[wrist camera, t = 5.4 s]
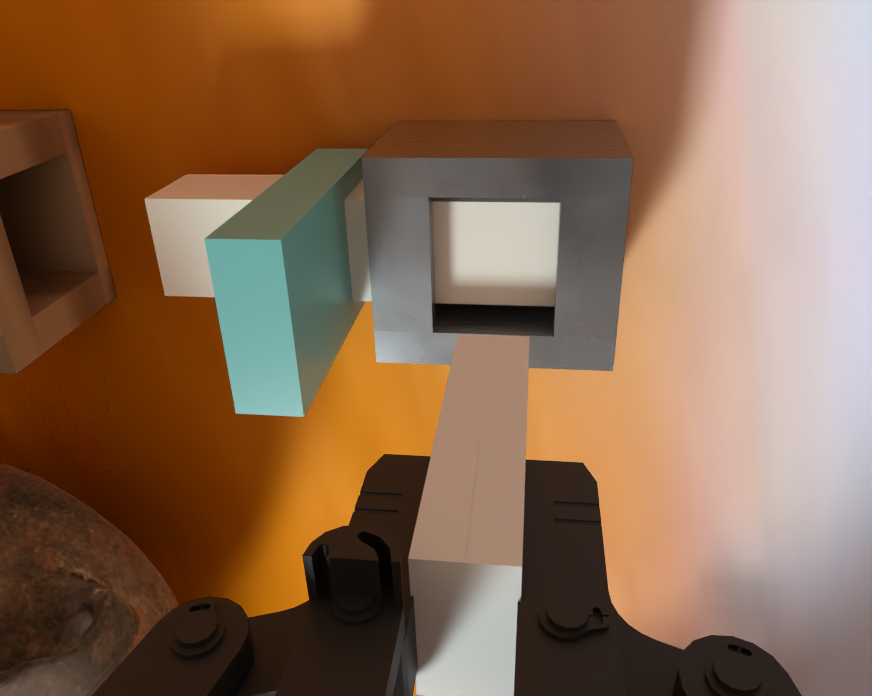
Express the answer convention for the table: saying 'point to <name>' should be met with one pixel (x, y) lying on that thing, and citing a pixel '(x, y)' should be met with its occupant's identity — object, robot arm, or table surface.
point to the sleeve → (498, 178)
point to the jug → (68, 591)
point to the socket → (45, 237)
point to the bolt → (326, 264)
